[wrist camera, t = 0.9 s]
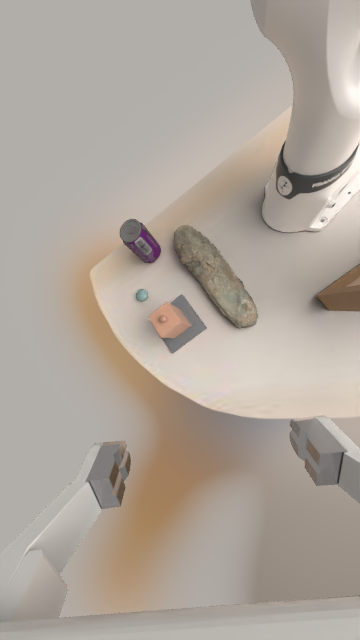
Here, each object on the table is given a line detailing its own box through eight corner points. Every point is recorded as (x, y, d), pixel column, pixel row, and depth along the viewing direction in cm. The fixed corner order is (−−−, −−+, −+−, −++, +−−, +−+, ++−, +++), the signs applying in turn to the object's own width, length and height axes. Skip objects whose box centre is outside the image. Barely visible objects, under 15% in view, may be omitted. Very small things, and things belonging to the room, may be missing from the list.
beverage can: (163, 242, 54) (144, 215, 43) (160, 263, 53) (140, 242, 42) (143, 243, 56) (120, 218, 45) (140, 263, 56) (116, 244, 44)
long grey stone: (233, 337, 46) (266, 316, 44) (235, 337, 41) (272, 313, 39) (166, 243, 53) (192, 222, 52) (160, 233, 48) (189, 210, 47)
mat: (182, 295, 50) (182, 294, 49) (206, 327, 47) (206, 327, 46) (151, 319, 52) (150, 319, 51) (173, 353, 49) (172, 353, 48)
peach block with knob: (179, 308, 49) (165, 300, 39) (191, 325, 47) (179, 321, 37) (163, 321, 50) (145, 316, 40) (174, 338, 48) (158, 337, 38)
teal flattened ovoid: (145, 288, 54) (142, 286, 53) (150, 296, 53) (148, 295, 52) (136, 295, 55) (134, 294, 53) (142, 303, 54) (139, 302, 52)
